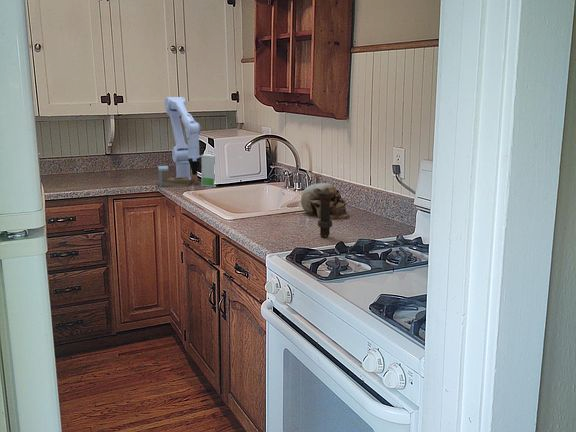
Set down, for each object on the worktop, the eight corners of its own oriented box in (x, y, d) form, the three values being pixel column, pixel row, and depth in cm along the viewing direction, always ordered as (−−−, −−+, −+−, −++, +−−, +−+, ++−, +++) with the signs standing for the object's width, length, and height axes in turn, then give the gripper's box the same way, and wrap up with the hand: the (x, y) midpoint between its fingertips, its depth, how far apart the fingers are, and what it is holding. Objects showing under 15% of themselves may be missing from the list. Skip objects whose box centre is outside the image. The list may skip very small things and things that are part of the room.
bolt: (313, 237, 196) (314, 192, 193) (318, 234, 200) (319, 190, 197) (331, 239, 194) (331, 193, 191) (335, 235, 198) (336, 191, 195)
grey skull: (350, 218, 224) (347, 183, 222) (304, 223, 223) (301, 188, 221) (344, 211, 239) (341, 178, 237) (301, 216, 239) (298, 183, 237)
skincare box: (201, 186, 298) (200, 154, 294) (208, 184, 303) (208, 153, 300) (215, 187, 294) (214, 155, 291) (222, 185, 300) (222, 154, 296)
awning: (159, 183, 305) (158, 166, 303) (168, 183, 306) (167, 165, 304) (159, 187, 295) (158, 168, 293) (169, 186, 296) (168, 168, 294)
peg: (191, 182, 308) (190, 167, 306) (197, 182, 309) (196, 167, 307) (191, 183, 305) (191, 168, 304) (197, 183, 306) (197, 167, 304)
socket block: (162, 183, 305) (162, 177, 304) (188, 182, 308) (188, 177, 307) (162, 186, 296) (162, 180, 295) (189, 185, 298) (189, 179, 298)
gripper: (202, 148, 297) (203, 175, 300) (200, 145, 311) (201, 171, 314) (188, 148, 295) (189, 175, 298) (186, 145, 309) (187, 172, 312)
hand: (194, 173), depth 306 cm, fingers open, 7 cm apart
